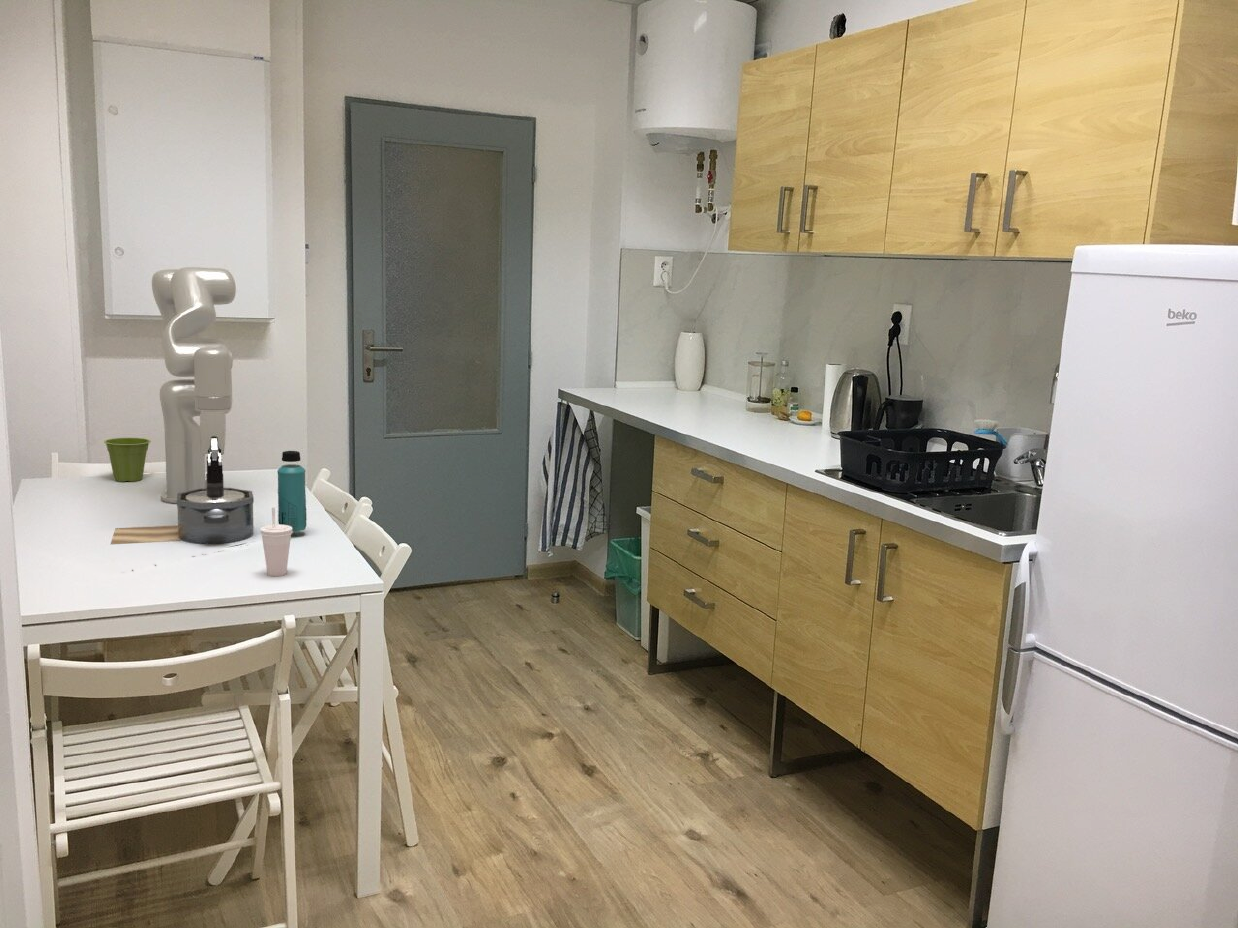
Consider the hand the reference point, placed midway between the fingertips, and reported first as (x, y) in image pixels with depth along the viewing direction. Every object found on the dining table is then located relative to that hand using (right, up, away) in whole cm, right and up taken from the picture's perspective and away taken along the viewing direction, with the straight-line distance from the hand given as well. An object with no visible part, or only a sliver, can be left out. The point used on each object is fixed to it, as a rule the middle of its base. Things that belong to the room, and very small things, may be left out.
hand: (214, 478), depth 231 cm
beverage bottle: (+15, -14, +9) cm, 22 cm away
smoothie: (+21, -20, -21) cm, 35 cm away
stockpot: (-1, -14, +2) cm, 14 cm away
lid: (0, -5, +1) cm, 5 cm away
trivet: (-15, -14, 0) cm, 20 cm away
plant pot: (-47, -1, +58) cm, 74 cm away
